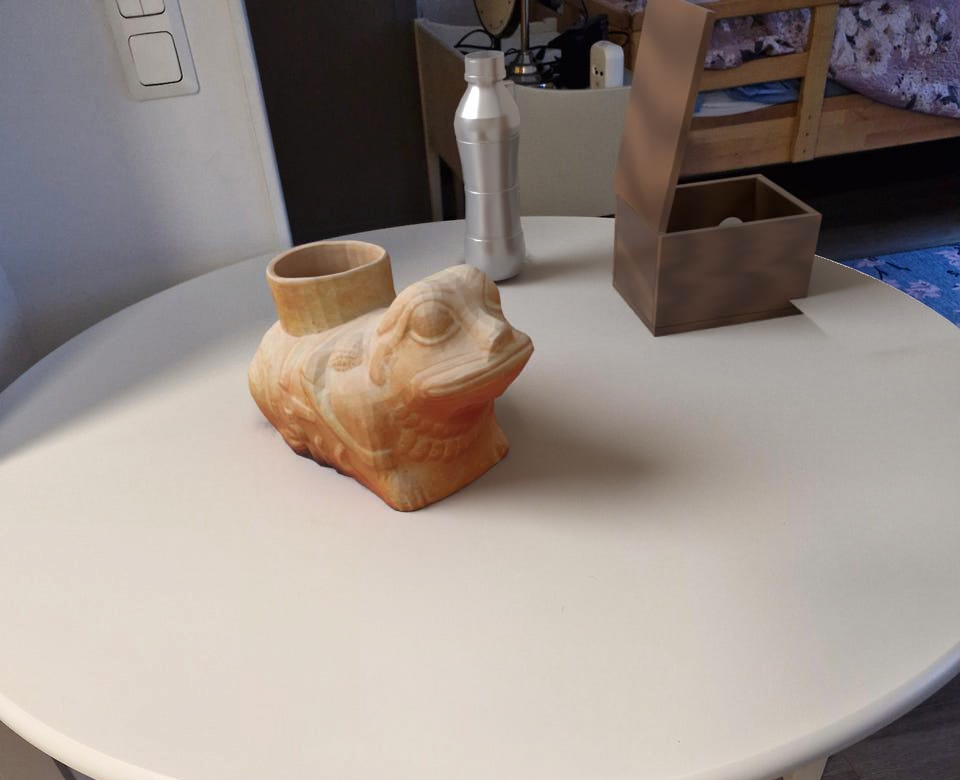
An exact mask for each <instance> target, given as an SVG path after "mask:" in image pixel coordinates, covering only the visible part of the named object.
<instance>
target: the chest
mask: <svg viewBox="0 0 960 780" xmlns="http://www.w3.org/2000/svg"><path fill="white" fill-rule="evenodd" d="M614 208H615V209H614V233H613V256H612V257H613V258H612V259H613V260H612V261H613V262H612V287H613V288H614V290H615V291H616V292H617V293H618V294H619V296H620V297H621V298H622V299H623V300H624V302H625V303H626V304H627V305H628V307H629V308H630V309H631V311H633V313H634V314H635V315H636V316H637V317H638V319H639V320H640V321H641V322H642V324H643V325H644V326H645V327H646V328H647V330H648V331H649V332H650V333H651V335H652V336H653V337H654V338H656V337H661V336H667V335H674V334H682V333H686V332H687V333H688V332H694V331H700V330H707V329H713V328H714V329H715V328H720V327H725V326H732V325H734V326H735V325H740V324H746V323H752V322H758V321H759V322H760V321H767V320H772V319H779V318H784V317H791V316H798V315H804V311H802V310H801V309H800V308H799V307H797V306H796V305H795V304H794V302H792V301H794V300H801V299H802V300H803V299H806V298H808V292H809V287H810V281H811V277H812V271H813V266H814V261H815V255H816V250H817V245H818V239H819V234H820V229H821V224H822V223H821V222H822V217H823V214H822V213H820V212H819V211H817V210H816V209H814V208H813V207H811V206H810V205H808V204H806V203H805V202H803V201H802V200H800V198H799V199H798V198H797V197H795V196H794V195H793V194H791V193H790V192H788V191H787V190H785V189H784V188H782V187H781V186H779V185H778V184H776V183H775V182H773V181H771V180H770V179H768V178H767V177H765V176H764V175H762V174H761V173H757V174H749V175H742V176H735V177H727V178H720V179H713V180H706V181H697V182H691V183H685V184H684V183H683V184H677V186H676V190H675V195H674V199H673V203H672V208H671V212H670V216H669V221H668V225H667V229H666V232H658V231H657V230H656V229H655V228H653V227H652V226H651V225H650V224H649V223H648V222H647V221H646V220H645V219H644V218H643V217H642V216H641V215H640V214H639V213H638V212H637V211H636V210H635V209H634V208H633V207H632V206H631V205H629V204H628V203H627V202H626V201H625V200H624V199H623V198H622V197H621V196H620V195H619V194H618V193H617V192H616V193H615V207H614ZM731 217H734V218H738V219H740V220H741V221H742V222H743V223H738V224H731V225H724V226H719V225H720V223H721V222H722V221H724V220H725V219H727V218H731Z"/></svg>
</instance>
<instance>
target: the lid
mask: <svg viewBox="0 0 960 780" xmlns="http://www.w3.org/2000/svg"><path fill="white" fill-rule="evenodd" d="M716 18H717V11H713V10H712V9H708V8H706V7H703V6H700V5H698V4H696V3H693V2H691V1H688V0H647V1H646V6H645V12H644V17H643V22H642V27H641V33H640V38H639V43H638V44H639V45H638V49H637V54H636V60H635V63H634V69H633V75H632V81H631V86H630V91H629V96H628V102H627V107H626V113H625V118H624V123H623V129H622V133H621V138H620V143H619V144H620V145H619V149H618V155H617V160H616V166H615V170H614V177H613V181H612V182H613V183H612V187H611V188H612V190H614V191H615V192H616V194H617V193H618V194H619V195H620V196H621V197H622V198H623V199H624V200H625V201H626V202H627V203H628V204H629V205H631V206H632V207H633V208H634V209H635V210H636V211H637V212H638V213H639V214H640V215H641V216H642V217H643V218H644V219H645V220H646V221H647V222H648V223H649V224H650V225H651V226H652V227H653V228H655V229H656V230H657V231H658V232H666V229H667V225H668V221H669V216H670V212H671V208H672V203H673V199H674V195H675V190H676V186H677V185H678V183H679V182H678V181H679V177H680V173H681V168H682V164H683V161H684V155H685V151H686V147H687V143H688V139H689V133H690V129H691V126H692V121H693V116H694V113H695V108H696V104H697V99H698V97H699V96H698V95H699V90H700V86H701V82H702V77H703V74H704V69H705V65H706V60H707V56H708V52H709V48H710V43H711V40H712V36H713V35H712V34H713V30H714V26H715V21H716Z"/></svg>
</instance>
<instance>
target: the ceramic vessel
mask: <svg viewBox="0 0 960 780" xmlns="http://www.w3.org/2000/svg"><path fill="white" fill-rule="evenodd" d="M265 272H266V273H265V274H266V275H265V276H266V280H267V283H268V287H269V289H270V290H269V291H270V293H271V296H272V299H273V302H274V305H275V307H276V310H277V315H278V320H276V322H274V323H273V325H271V327H270V328H269V329H268V330H267V331H266V332H265V334H264V335H263V337H262V339H261V340H260V342H259V345H258V347H257V350H256V352H255V355H254V356H253V358H252V360H251V362H250V364H249V366H248V369H247V381H248V389H249V392H250V395H251V398H252V399H253V402H254V403H255V404H256V406H257V407H258V408H259V410H260V412H261V413H262V415H263V416H264V417H265V419H266V420H267V421H268V422H269V423H270V424H271V425H272V426H273V427H274V429H275V430H276V431H277V432H278V433H279V434H280V436H281V437H282V439H283V440H284V442H285V444H286V445H287V446H288V447H289V448H290V449H291V450H292V452H293V453H294V454H295V455H297V456H299V457H303V458H305V459H309V460H311V461H312V462H315V463H316V464H317V465H318V466H320V467H325V468H330V469H334V470H335V472H336V473H337V474H338V475H339V474H340V475H341V476H344V477H345V476H346V477H349V478H353V479H354V481H356V482H357V483H358V484H359V485H361V486H363V487H364V488H366V489H367V490H369V491H370V492H371V493H373V494H374V495H375V496H376V497H378V498H379V499H380V500H381V501H382V502H384V504H385V505H387V506H388V507H389V508H391V509H393V510H394V511H398V512H399V511H400V512H412V511H416V510H420V509H422V508H424V507H426V506H429V505H431V504H434V503H436V502H438V501H441V500H443V499H444V498H447V497H448V496H450V495H453V494H455V493H457V492H458V491H460V490H462V489H463V488H465V487H467V486H468V485H470V484H472V483H473V482H474V481H475V480H477V479H479V478H480V477H481V476H482V475H484V474H485V473H486V472H487V471H489V470H490V469H491V468H492V467H494V466H495V465H496V464H498V463H499V462H501V461H502V459H504V458H505V457H506V455H507V454H508V452H509V450H510V445H509V444H510V441H509V439H508V438H507V436H506V435H505V433H504V432H503V431H502V430H501V427H500V425H499V422H498V420H497V418H496V412H495V399H497V398H499V397H501V396H503V394H504V393H505V392H506V390H508V388H509V387H510V386H511V384H512V383H514V381H515V380H516V379H517V378H518V377H519V376H520V375H521V373H522V371H523V370H524V368H526V365H527V364H528V362H529V361H530V359H531V357H532V355H533V353H535V352H534V351H535V346H534V343H533V341H532V339H531V337H530V336H529V335H528V334H527V333H526V332H523V331H521V330H519V329H517V328H515V327H514V326H513V325H512V324H511V323H510V322H509V320H508V319H507V318H506V317H505V314H504V312H503V309H502V301H501V300H502V299H501V294H500V290H499V288H498V286H497V284H496V283H495V281H493V280H492V279H491V278H490V277H489V276H488V275H487V274H486V273H485V272H483V271H481V270H479V269H477V268H476V267H474V266H472V265H468V264H466V263H462V264H459V265H452V266H450V267H447V268H445V269H443V270H441V271H438V272H436V273H433V274H431V275H429V276H426V277H424V278H421V279H419V280H418V281H416V282H414V283H412V284H411V285H409V286H406V287H405V288H404V289H403V290H402V291H400V293H398V294H397V293H396V289H395V284H394V275H393V269H392V261H391V257H390V255H389V253H388V251H387V249H385V248H384V247H382V246H380V245H377V244H374V243H371V242H366V241H361V240H348V239H347V240H321V241H315V242H309V243H305V244H301V245H299V246H295V247H293V248H290V249H287V250H285V251H283V252H281V253H279V254H278V255H276V256H275V257H274V258H272V259H271V260H270V262H269V263H268V265H267V266H266V270H265Z"/></svg>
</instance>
